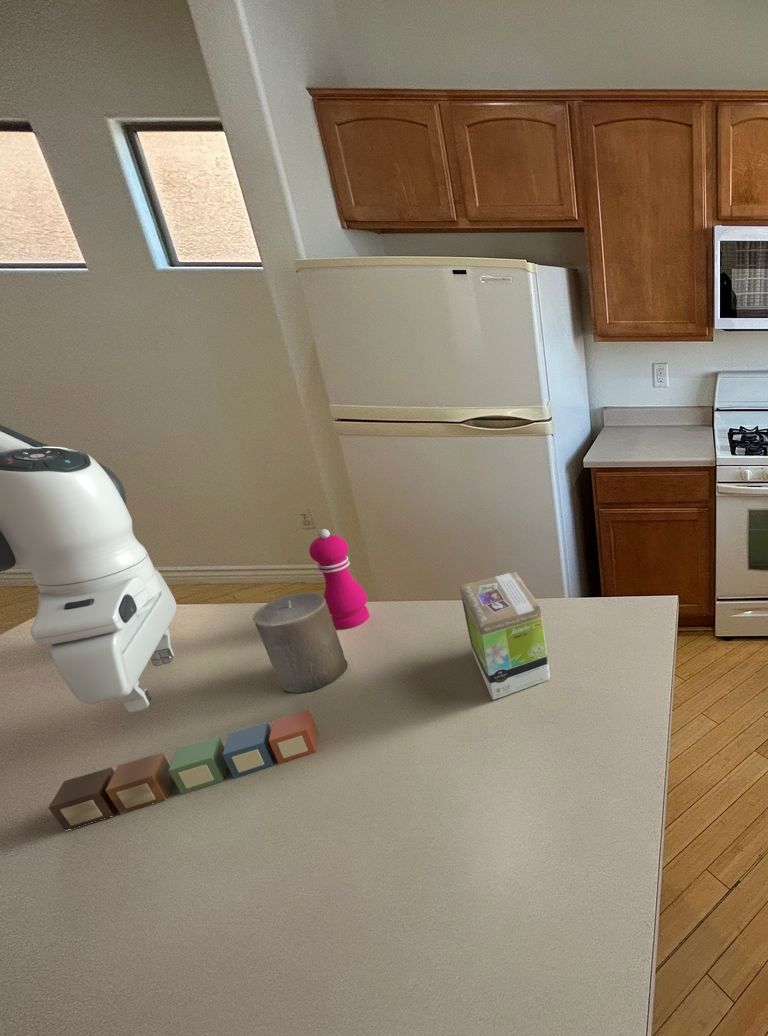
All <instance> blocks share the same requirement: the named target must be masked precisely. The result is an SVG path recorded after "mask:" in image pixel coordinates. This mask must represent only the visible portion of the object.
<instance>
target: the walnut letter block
mask: <svg viewBox="0 0 768 1036" xmlns="http://www.w3.org/2000/svg"><path fill="white" fill-rule="evenodd" d="M114 772H115V771H114V769H113V767H108V768H104V769H101V770H97V771H94V772H90V773H87V774H84V775H79V776H77V777H73V778H70V779H66V780H64V781H63V783H62V784H61V786H60V787H59V789H58V791H57V792H56V793H55V795H54V797H53V798H52V800H51V802H50V804H49V806H48V809H49V811H50V813H51V814H52V815H53V817H54V819H56V821H57V822H58V824H59V825H60V826H61V828H62V829H63V830H64V831H65V830H68V829H74V828H77V827H79V826H83V825H85V824H88V823H91V822H95V821H99V820H101V819H104V818H108V817H110V816H114V814H115V815H116V813H117V811H118V809H117V808H116V806H115V805H114V803H113V802H112V800H111V799H110V797H109V795H108V794H107V792H106V791H105V790H106V788H107V786H108V784H109V782H110V780H111V778H112V776H113V774H114ZM116 810H117V811H116ZM115 812H116V813H115ZM114 817H115V816H114ZM108 819H109V818H108ZM99 822H100V821H99ZM83 827H84V826H83ZM77 829H78V828H77ZM74 830H75V829H74Z"/></svg>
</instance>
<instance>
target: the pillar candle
mask: <svg viewBox="0 0 768 1036" xmlns="http://www.w3.org/2000/svg"><path fill="white" fill-rule="evenodd" d="M323 596H324V595H323V594H320V593H318V592H311V591H310V592H297V593H294V594H289V595H285V596H282V597H280V598H277V599H274V600H272V601H270V602H268V603H266V604H264V605H263V606H260V607H259V608H258V609H257V610H255V612H254V614H253V618H252V621H253V623H254V625H255V627H256V630H257V632H258V634H259V637H260V639H261V642H262V644H263V646H264V649H265V651H266V654H267V656H268V659H269V661H270V664H271V667H272V669H273V672H274V673H275V675H276V678H277V680H278V683H279V686H280V688H282V689H283V690H285V691H286V692H289V693H292V694H297V693H298V694H300V693H307V692H313V691H316V690H318V689H321V688H323V687H325V686H328V685H329V684H331V683H332V682H335V681H336V680H337V679H338V678H340V677H341V676H342V675H343V674H344V673H345V672H346V670H347V668H348V661H347V659H346V657H345V654H344V650H343V647H342V644H341V642H340V638H339V636H338V633H337V630H336V629H337V628H335V626H334V624H333V620H332V617H331V614H330V611H329V608H328V606H327V603H326V600H325V598H324V597H323Z"/></svg>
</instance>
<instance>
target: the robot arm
mask: <svg viewBox="0 0 768 1036" xmlns="http://www.w3.org/2000/svg"><path fill="white" fill-rule="evenodd" d="M133 530H134V529H133V519H132V516H131V514H130V512H129V510H128V508H127V495H126V490H125V487H124V485H123V483H122V481H121V480H120V478H119V477H118V476H117V474H115V473H114V471H112V470H111V469H110V468H109V467H107V466H106V465H105V464H103V463H101V462H99V461H98V460H95V459H94V458H93V456H91V455H90V454H88V453H86V452H83V451H80V450H76V449H73V448H68V447H62V446H52V445H50V444H47V443H43V442H41V441H38V440H36V439H33V438H31V437H29V436H27V435H24V434H22V433H20V432H18V431H15V430H14V429H11V428H9V427H6V426H4V425H2V424H0V573H2V572H5V571H9V570H10V569H25V570H27V571H29V572H30V573H31V575H32V578H33V582H34V583H35V586H36V587H37V588H38V591H39V592H40V593H38V598H37V599H38V606H37V611H36V615H35V618H34V620H33V623H32V626H31V628H30V635H31V637H32V640H34V642H35V644H37V645H38V646H39V647H43V646H50V648H49V653H50V659H51V661H52V663H53V665H54V667H55V669H56V671H57V672H58V674H59V675H60V676H61V679H62V680H63V681H64V683H65V685H66V686H67V687H68V689H69V690H70V692H71V693H72V695H73V696H74V697H75V698H76V699H77V700H78V701H80V702H81V703H83V704H87V705H96V704H100V703H105V702H110V701H113V700H117V701H119V702H121V703H122V704H123V706H124V707H125V709H126V711H127V712H129V713H136V712H139V711H143V710H144V711H145V710H146V709H148V708H149V705H150V704H151V701H152V696H151V695H150V692H149V690H148V688H146V689H142V688H140V687H139V685H140V681H139V679H140V677H141V675H142V674H143V672H144V670H145V668H146V666H147V665H148V663H149V661H151V663H152V665H153V666H155V667H160V666H163V665H169V664H170V663H171V662H172V661H173V659H174V656H175V652H174V650H173V648H172V646H171V634H170V629H169V626H170V624H171V623H172V621H173V619H174V618H175V616H176V614H177V612H178V610H177V609H178V606H177V602H176V599H175V597H174V595H173V593H172V591H171V589H170V588H169V586H168V584H167V583H166V580H165V579H164V577H163V576H162V574H161V573H160V572H159V571H158V570H157V569H156V568H155V566H154V564H153V562H152V560H151V558H150V555H149V553H148V551H147V549H146V547H145V546H144V545H143V544H141V542H140V541H139V540H138V539H137V538H136V535H135V534H134V531H133Z"/></svg>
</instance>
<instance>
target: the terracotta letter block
mask: <svg viewBox="0 0 768 1036" xmlns="http://www.w3.org/2000/svg"><path fill="white" fill-rule="evenodd" d="M270 729H271V733H270V737H269V743H270V745H271V748H272V750H273V752H274V754H275V759H276V761H277V763H278V764H282V763H285V762H289V761H293V760H296V759H298V758H301V757H305V756H307V755H311V754H314V753H316V752H317V745H318V736H319V731H318V728H317V725H316V723H315V720H314V718H313V715H312V712H311V709H308V710H304V711H301V712H298V713H294V714H291V715H288V716H284V717H280V718H277V719H274V720H272V724H271V727H270Z"/></svg>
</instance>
